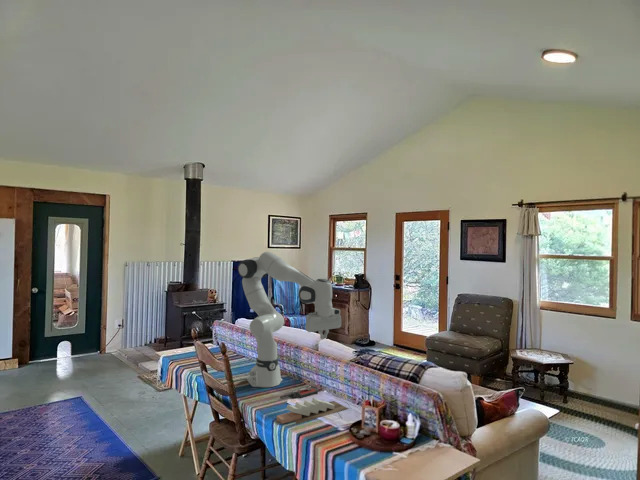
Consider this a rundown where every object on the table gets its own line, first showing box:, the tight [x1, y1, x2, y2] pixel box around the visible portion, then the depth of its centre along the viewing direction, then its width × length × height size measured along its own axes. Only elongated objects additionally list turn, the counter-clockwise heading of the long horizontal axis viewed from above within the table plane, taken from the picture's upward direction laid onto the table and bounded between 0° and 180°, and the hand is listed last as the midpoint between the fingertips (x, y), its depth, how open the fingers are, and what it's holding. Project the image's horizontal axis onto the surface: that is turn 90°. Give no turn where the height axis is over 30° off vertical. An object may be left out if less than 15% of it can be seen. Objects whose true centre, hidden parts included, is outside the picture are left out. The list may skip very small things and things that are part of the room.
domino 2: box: [286, 404, 311, 416], centre depth 192 cm, size 2×5×10 cm
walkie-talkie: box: [279, 386, 319, 399], centre depth 220 cm, size 9×4×20 cm
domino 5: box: [311, 397, 335, 409], centre depth 200 cm, size 2×5×10 cm
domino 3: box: [294, 402, 319, 414], centre depth 195 cm, size 2×5×10 cm
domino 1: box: [276, 411, 302, 424], centre depth 190 cm, size 2×5×10 cm
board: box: [293, 400, 349, 425], centre depth 198 cm, size 12×28×1 cm, turn 125°
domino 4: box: [303, 400, 327, 412], centre depth 198 cm, size 2×5×10 cm
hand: (323, 338), depth 215 cm, fingers closed
